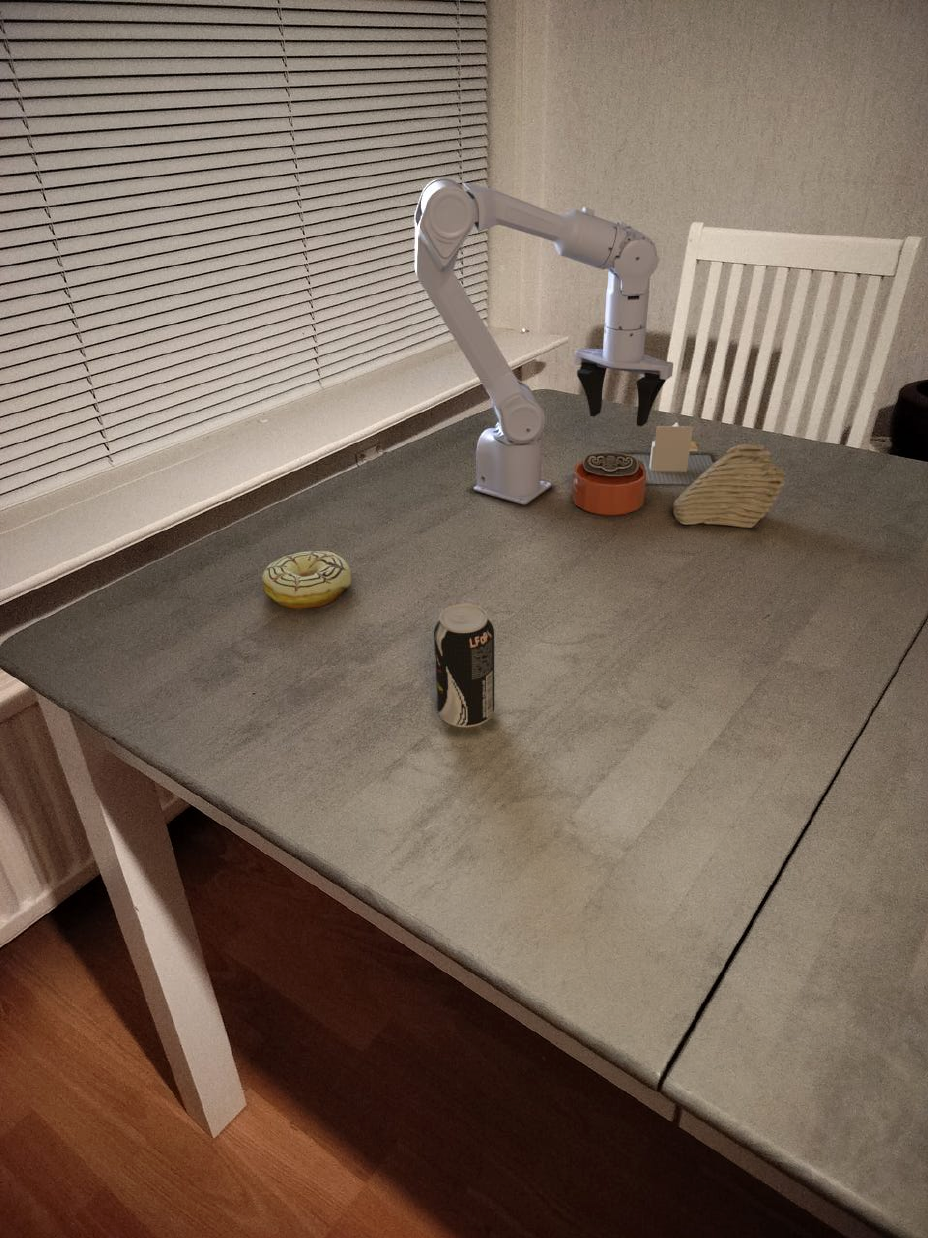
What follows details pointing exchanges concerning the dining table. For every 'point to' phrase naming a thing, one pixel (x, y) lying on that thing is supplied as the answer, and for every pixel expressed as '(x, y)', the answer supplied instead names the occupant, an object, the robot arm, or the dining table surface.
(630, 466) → the lighter
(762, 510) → the fossil tooth
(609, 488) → the bowl
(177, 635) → the dining table surface
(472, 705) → the beverage can
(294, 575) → the decorated donut
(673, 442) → the architectural model
